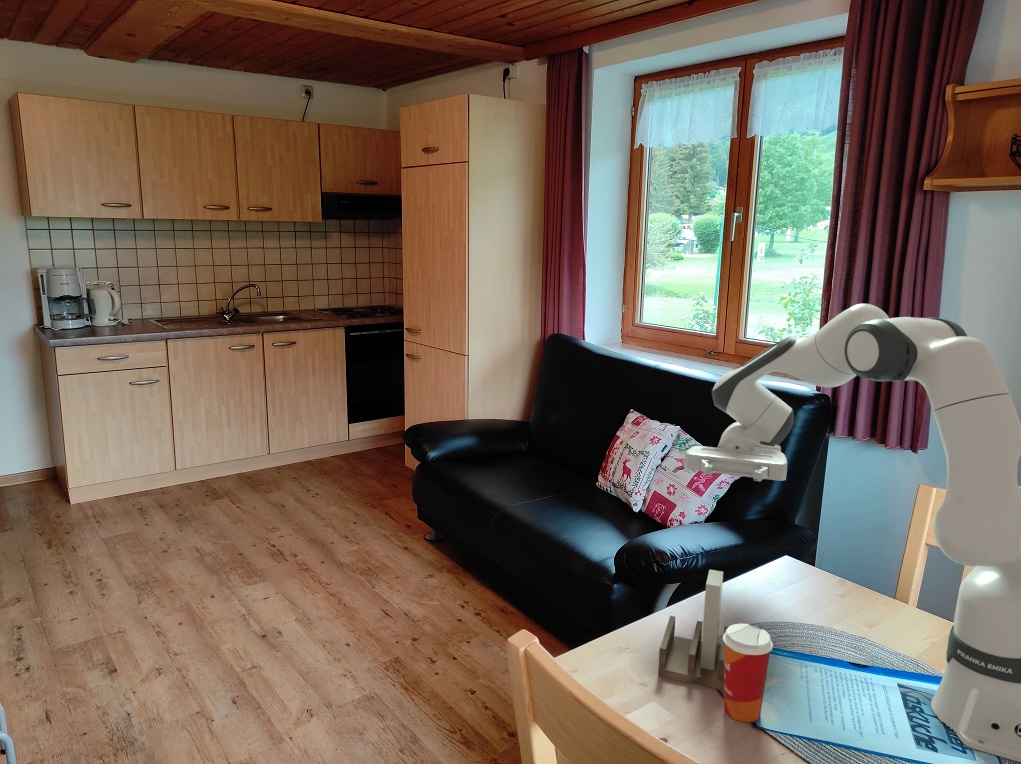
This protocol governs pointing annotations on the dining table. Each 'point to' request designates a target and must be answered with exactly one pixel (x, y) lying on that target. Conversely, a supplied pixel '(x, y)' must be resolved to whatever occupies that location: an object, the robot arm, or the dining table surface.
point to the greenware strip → (711, 619)
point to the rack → (689, 658)
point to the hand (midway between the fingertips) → (732, 474)
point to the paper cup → (745, 671)
